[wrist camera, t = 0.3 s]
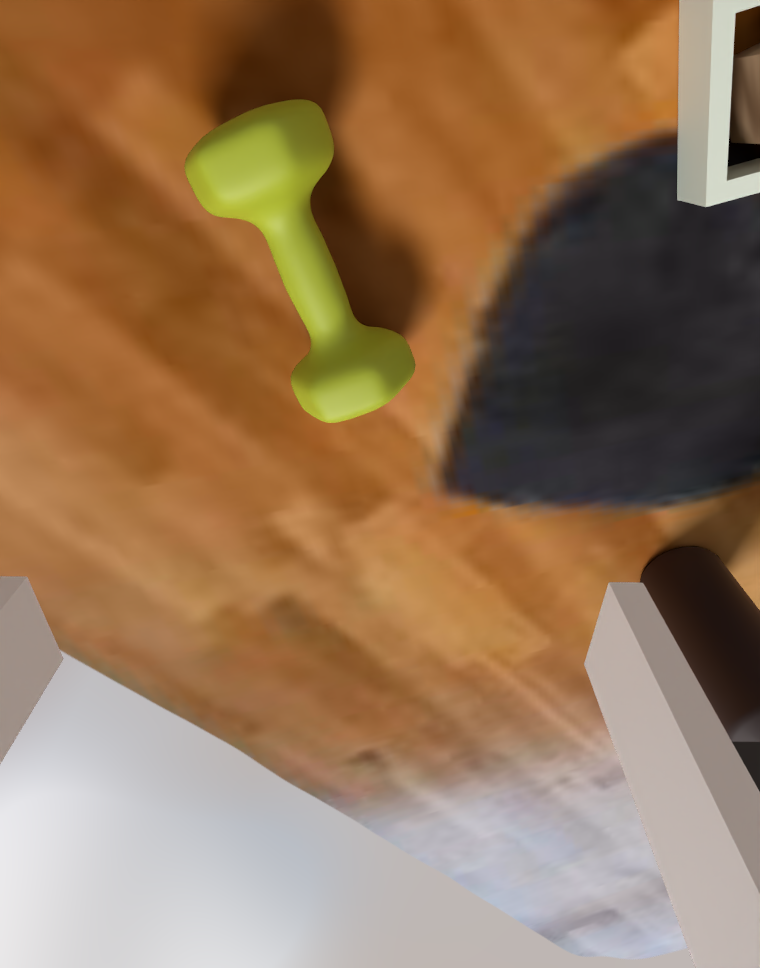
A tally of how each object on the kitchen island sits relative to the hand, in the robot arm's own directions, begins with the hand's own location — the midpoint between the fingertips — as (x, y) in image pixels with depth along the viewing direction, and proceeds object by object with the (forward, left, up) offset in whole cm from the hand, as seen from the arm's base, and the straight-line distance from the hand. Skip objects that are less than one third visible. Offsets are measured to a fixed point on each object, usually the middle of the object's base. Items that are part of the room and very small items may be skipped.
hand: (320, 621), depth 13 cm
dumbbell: (-3, -2, -28) cm, 28 cm away
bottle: (+29, +20, -28) cm, 45 cm away
